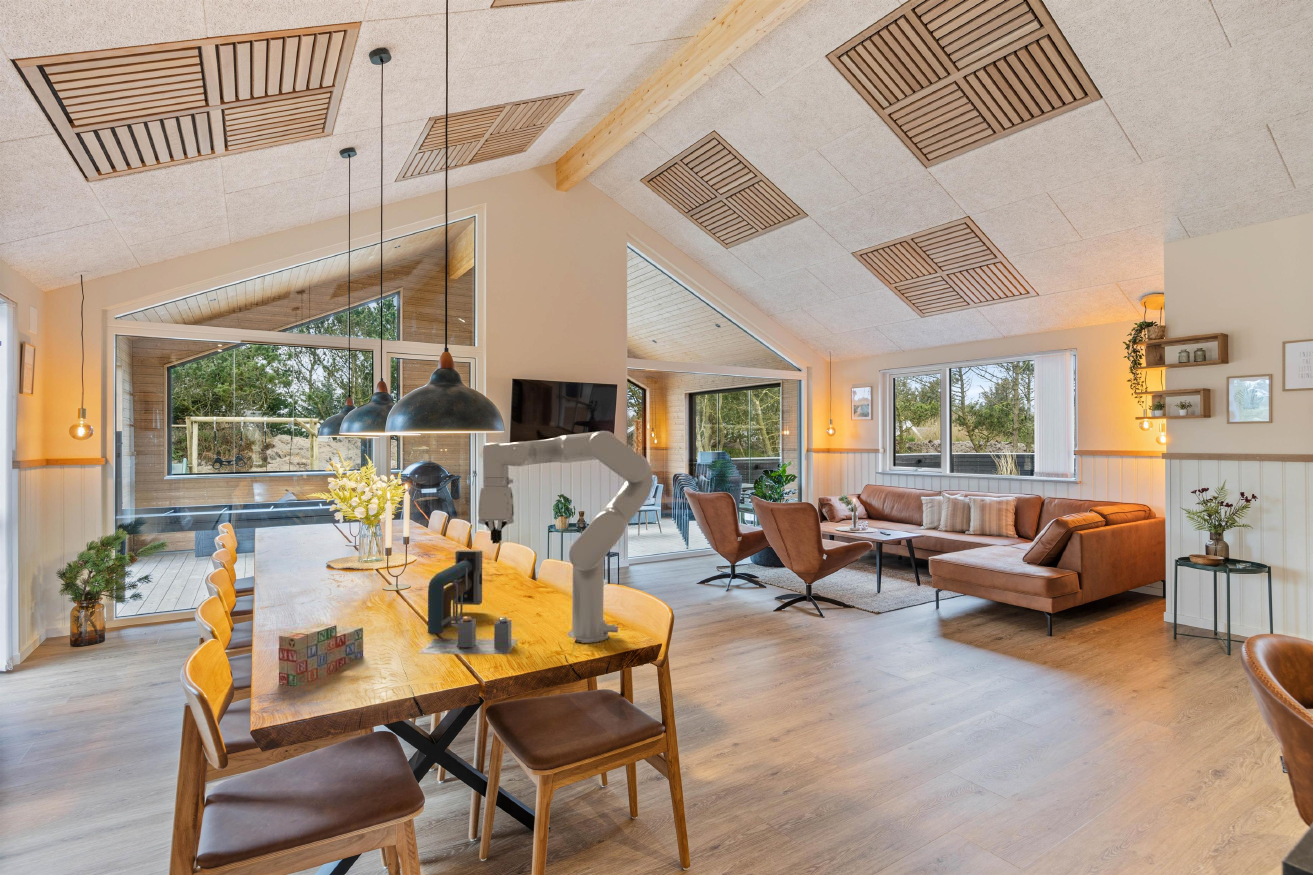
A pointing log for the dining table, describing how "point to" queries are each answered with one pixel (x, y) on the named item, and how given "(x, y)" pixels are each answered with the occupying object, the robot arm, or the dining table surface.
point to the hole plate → (452, 647)
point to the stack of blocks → (317, 651)
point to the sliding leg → (466, 632)
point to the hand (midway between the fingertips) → (496, 542)
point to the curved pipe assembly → (454, 590)
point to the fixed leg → (502, 633)
